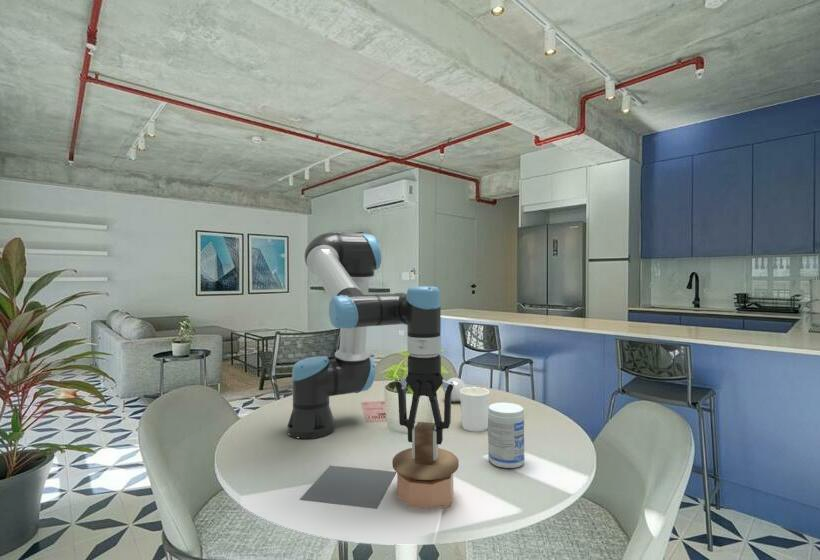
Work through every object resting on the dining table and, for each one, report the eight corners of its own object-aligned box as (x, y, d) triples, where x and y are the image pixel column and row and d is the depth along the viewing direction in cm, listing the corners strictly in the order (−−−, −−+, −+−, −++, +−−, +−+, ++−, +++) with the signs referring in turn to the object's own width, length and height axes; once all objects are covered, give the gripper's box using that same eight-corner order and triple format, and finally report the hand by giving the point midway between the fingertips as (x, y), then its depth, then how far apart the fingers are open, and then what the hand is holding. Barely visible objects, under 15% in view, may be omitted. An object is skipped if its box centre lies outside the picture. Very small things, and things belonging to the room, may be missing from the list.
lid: (384, 476, 90) (384, 435, 90) (401, 447, 105) (400, 412, 105) (454, 483, 87) (454, 440, 87) (461, 452, 102) (461, 416, 102)
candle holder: (488, 422, 144) (488, 387, 144) (491, 433, 134) (491, 395, 134) (459, 421, 145) (459, 386, 145) (460, 432, 135) (459, 395, 135)
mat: (299, 504, 94) (299, 499, 94) (330, 469, 110) (330, 465, 110) (377, 513, 90) (376, 508, 90) (396, 475, 106) (396, 471, 106)
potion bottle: (442, 402, 170) (479, 409, 167) (439, 394, 163) (478, 401, 159) (446, 381, 175) (482, 387, 171) (444, 372, 167) (482, 378, 164)
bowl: (393, 508, 92) (393, 480, 92) (406, 481, 103) (405, 457, 103) (448, 514, 89) (448, 486, 89) (455, 486, 101) (454, 461, 101)
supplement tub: (523, 472, 108) (523, 414, 108) (486, 467, 111) (485, 411, 110) (525, 456, 117) (524, 403, 117) (490, 452, 120) (490, 400, 120)
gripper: (383, 356, 94) (384, 460, 94) (460, 358, 90) (461, 467, 91) (392, 350, 101) (393, 447, 102) (463, 352, 98) (464, 453, 98)
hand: (425, 456), depth 96 cm, fingers closed on lid, 4 cm apart
